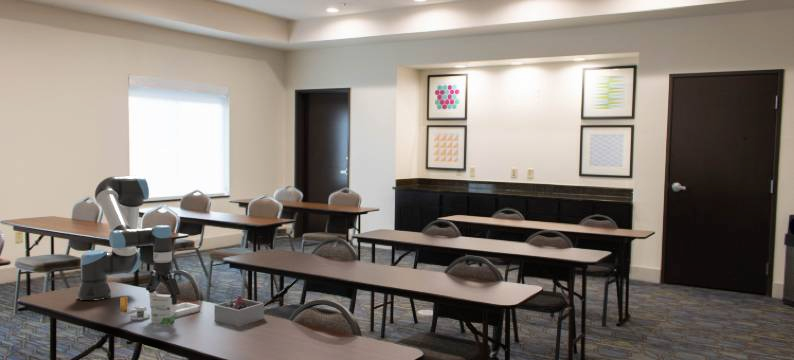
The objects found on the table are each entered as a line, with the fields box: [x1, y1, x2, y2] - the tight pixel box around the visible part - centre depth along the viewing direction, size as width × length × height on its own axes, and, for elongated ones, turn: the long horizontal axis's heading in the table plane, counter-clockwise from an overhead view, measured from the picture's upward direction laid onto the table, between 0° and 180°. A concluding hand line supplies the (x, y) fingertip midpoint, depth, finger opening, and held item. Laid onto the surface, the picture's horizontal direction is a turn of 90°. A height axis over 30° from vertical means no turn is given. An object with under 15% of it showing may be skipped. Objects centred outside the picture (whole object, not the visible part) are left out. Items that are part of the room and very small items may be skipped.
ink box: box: [150, 293, 175, 325], centre depth 268 cm, size 9×5×12 cm, turn 84°
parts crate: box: [214, 298, 265, 328], centre depth 274 cm, size 15×15×7 cm
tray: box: [174, 301, 201, 319], centre depth 283 cm, size 10×14×2 cm
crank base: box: [130, 311, 151, 321], centre depth 274 cm, size 8×8×3 cm
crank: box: [119, 295, 148, 316], centre depth 270 cm, size 12×5×8 cm, turn 147°
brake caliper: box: [226, 294, 247, 310], centre depth 274 cm, size 11×11×12 cm
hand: (163, 309), depth 268 cm, fingers open, 13 cm apart
